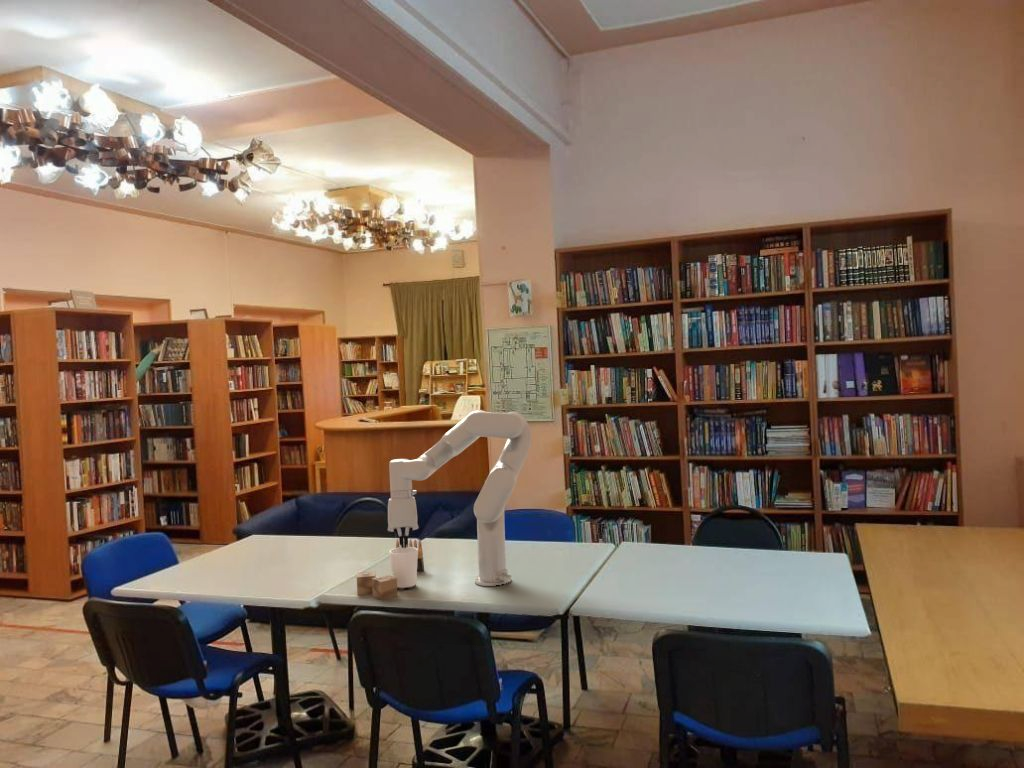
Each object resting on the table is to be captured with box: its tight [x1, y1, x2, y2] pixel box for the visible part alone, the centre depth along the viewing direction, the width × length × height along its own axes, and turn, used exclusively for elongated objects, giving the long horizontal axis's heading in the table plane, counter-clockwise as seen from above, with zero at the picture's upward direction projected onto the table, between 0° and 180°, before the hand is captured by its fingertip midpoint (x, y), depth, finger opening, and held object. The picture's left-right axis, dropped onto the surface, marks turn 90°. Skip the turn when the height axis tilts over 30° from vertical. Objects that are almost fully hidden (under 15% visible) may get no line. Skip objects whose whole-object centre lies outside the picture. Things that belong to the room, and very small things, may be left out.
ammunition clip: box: [395, 538, 425, 573], centre depth 276 cm, size 11×2×12 cm, turn 78°
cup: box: [389, 546, 418, 591], centre depth 255 cm, size 10×10×13 cm
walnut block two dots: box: [372, 574, 398, 601], centre depth 246 cm, size 6×6×6 cm
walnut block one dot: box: [356, 571, 377, 596], centre depth 252 cm, size 6×6×6 cm
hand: (404, 546), depth 259 cm, fingers closed
